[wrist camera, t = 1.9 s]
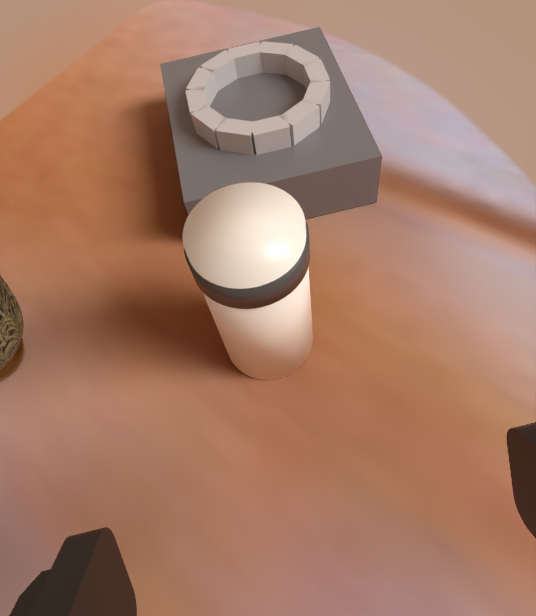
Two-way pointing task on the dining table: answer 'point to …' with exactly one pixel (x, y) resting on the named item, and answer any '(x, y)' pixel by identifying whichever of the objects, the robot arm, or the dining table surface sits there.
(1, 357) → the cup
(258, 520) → the dining table surface
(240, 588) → the dining table surface
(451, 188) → the dining table surface
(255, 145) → the square base with ring
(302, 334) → the domed cylinder with band
